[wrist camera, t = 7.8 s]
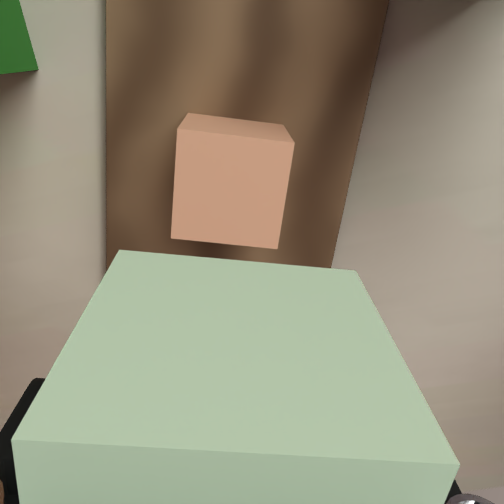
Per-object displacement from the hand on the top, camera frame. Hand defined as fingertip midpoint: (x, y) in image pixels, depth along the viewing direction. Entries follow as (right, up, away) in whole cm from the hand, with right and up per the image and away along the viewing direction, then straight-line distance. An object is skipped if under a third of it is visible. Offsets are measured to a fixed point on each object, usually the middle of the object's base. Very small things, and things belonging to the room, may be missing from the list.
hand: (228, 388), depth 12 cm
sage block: (0, +1, +1) cm, 1 cm away
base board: (-1, +10, +19) cm, 21 cm away
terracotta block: (-1, +9, +18) cm, 20 cm away
